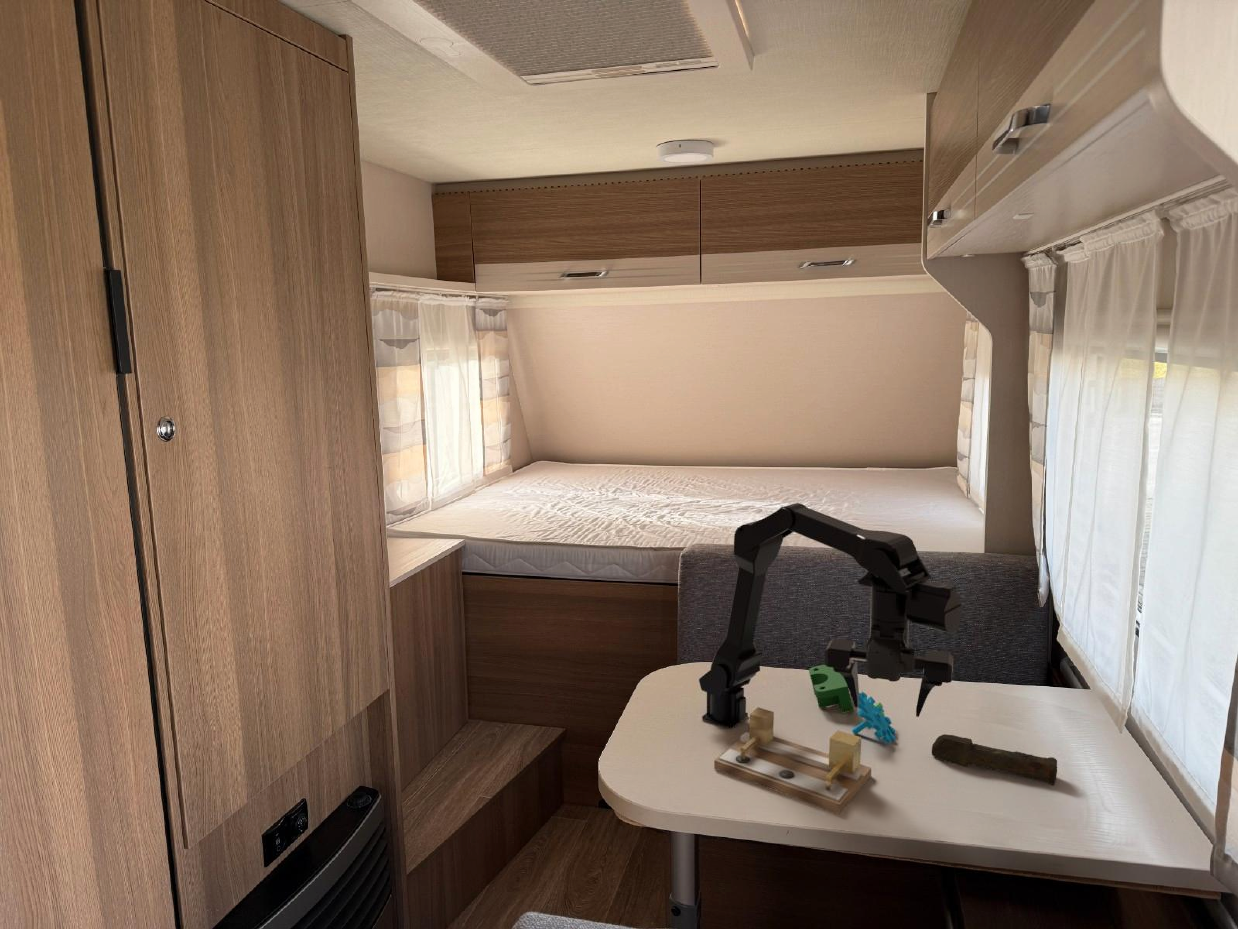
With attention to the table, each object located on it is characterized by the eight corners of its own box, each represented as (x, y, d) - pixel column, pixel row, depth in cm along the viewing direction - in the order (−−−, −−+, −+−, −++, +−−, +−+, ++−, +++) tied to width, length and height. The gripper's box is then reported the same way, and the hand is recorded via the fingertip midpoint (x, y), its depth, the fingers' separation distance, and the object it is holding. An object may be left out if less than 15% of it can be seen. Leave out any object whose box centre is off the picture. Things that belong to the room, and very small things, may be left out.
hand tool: (1056, 777, 139) (1058, 750, 139) (1055, 789, 136) (1058, 762, 135) (934, 751, 148) (935, 726, 147) (930, 761, 145) (932, 736, 144)
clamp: (819, 713, 171) (807, 667, 173) (848, 707, 170) (836, 661, 172) (822, 718, 159) (810, 669, 162) (854, 711, 159) (841, 662, 161)
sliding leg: (814, 784, 134) (815, 752, 133) (836, 761, 141) (837, 730, 140) (839, 793, 132) (840, 759, 130) (860, 769, 138) (861, 737, 137)
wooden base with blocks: (714, 768, 143) (714, 727, 141) (751, 737, 153) (752, 698, 152) (839, 813, 130) (841, 768, 128) (871, 776, 140) (872, 733, 138)
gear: (892, 747, 146) (854, 698, 149) (866, 765, 148) (828, 716, 151) (904, 727, 155) (868, 682, 158) (879, 745, 158) (843, 699, 161)
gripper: (818, 626, 128) (817, 724, 131) (952, 642, 121) (947, 745, 123) (831, 603, 138) (829, 694, 141) (955, 616, 131) (951, 712, 133)
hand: (886, 711), depth 134 cm, fingers open, 9 cm apart
